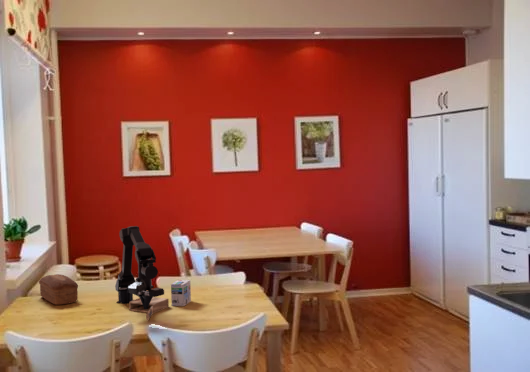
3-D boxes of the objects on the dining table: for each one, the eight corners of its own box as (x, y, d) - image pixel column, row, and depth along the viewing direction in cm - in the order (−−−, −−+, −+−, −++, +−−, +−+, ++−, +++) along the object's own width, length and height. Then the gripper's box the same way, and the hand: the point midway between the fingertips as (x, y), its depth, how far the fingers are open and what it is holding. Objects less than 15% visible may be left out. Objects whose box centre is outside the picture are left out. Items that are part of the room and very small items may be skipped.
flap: (148, 320, 266) (148, 313, 265) (146, 320, 266) (146, 313, 265) (154, 312, 280) (153, 305, 279) (152, 312, 280) (152, 305, 279)
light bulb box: (184, 306, 291) (183, 284, 291) (171, 306, 293) (170, 284, 292) (191, 301, 302) (190, 279, 301) (178, 300, 303) (177, 279, 303)
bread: (63, 293, 326) (62, 270, 325) (81, 303, 303) (80, 278, 302) (37, 297, 317) (36, 274, 317) (53, 307, 295) (52, 282, 294)
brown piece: (129, 310, 286) (129, 301, 286) (145, 304, 297) (144, 296, 297) (153, 313, 280) (153, 304, 280) (168, 306, 291) (168, 298, 291)
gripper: (116, 275, 269) (117, 310, 270) (146, 280, 258) (147, 316, 259) (135, 271, 278) (136, 305, 279) (164, 275, 267) (165, 310, 268)
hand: (145, 309), depth 271 cm, fingers closed
